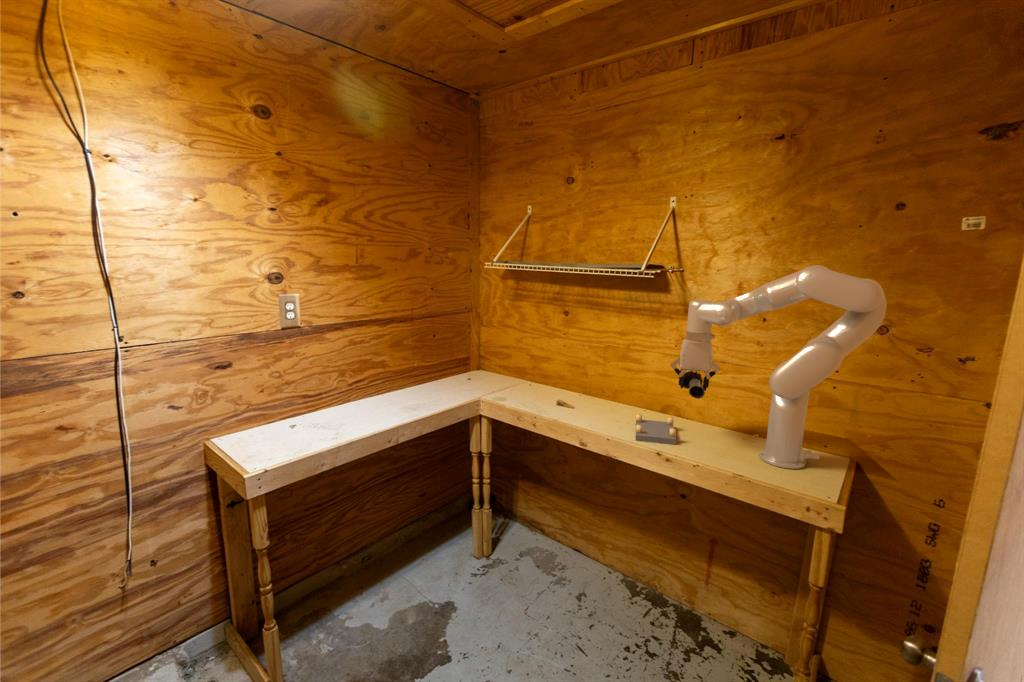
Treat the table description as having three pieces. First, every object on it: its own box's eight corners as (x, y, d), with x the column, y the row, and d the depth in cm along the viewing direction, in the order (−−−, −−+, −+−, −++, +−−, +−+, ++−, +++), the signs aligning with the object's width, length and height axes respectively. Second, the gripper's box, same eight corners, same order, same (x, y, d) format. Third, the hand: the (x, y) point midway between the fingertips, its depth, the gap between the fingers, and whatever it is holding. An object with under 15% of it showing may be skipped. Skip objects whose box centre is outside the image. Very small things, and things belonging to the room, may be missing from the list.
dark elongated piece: (704, 399, 147) (705, 382, 146) (682, 397, 149) (683, 380, 148) (701, 384, 164) (702, 369, 163) (681, 382, 166) (682, 367, 165)
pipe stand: (672, 427, 168) (673, 415, 167) (675, 444, 153) (676, 432, 152) (635, 424, 172) (636, 412, 171) (635, 440, 156) (636, 428, 156)
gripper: (724, 336, 154) (718, 387, 157) (670, 333, 158) (665, 383, 162) (728, 340, 147) (722, 394, 150) (671, 337, 151) (666, 389, 155)
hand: (692, 388), depth 156 cm, fingers closed on dark elongated piece, 6 cm apart
